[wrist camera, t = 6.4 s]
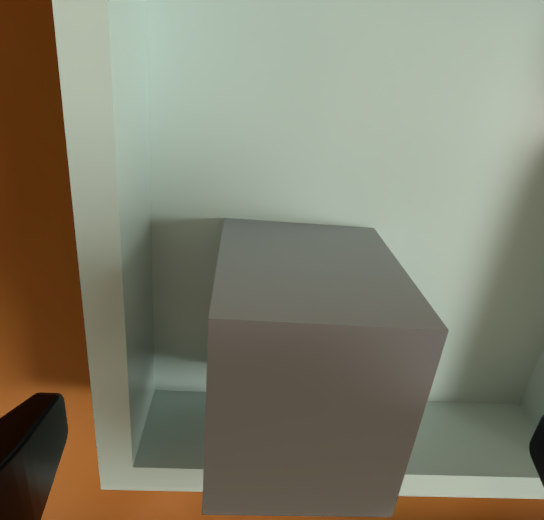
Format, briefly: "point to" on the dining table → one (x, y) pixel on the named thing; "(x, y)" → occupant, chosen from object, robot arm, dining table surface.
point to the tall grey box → (313, 371)
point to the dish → (308, 203)
